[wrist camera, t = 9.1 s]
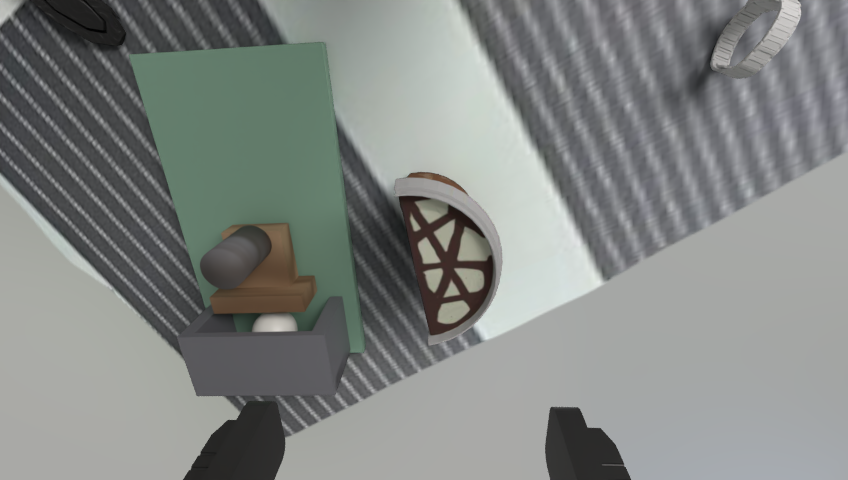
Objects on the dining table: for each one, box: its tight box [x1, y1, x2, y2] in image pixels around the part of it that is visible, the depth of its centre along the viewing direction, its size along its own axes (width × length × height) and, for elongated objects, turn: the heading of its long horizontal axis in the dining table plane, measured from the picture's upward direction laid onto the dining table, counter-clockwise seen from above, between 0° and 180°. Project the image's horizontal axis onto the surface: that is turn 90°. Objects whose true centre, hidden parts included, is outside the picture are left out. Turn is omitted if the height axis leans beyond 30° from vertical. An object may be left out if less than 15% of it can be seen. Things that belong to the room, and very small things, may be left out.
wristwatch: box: [710, 0, 801, 79], centre depth 27 cm, size 3×5×5 cm, turn 161°
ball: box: [252, 312, 298, 332], centre depth 37 cm, size 4×4×4 cm
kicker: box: [200, 223, 317, 314], centre depth 33 cm, size 7×8×7 cm
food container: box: [394, 172, 502, 345], centre depth 31 cm, size 12×6×10 cm, turn 11°
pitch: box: [129, 42, 366, 353], centre depth 36 cm, size 28×15×1 cm, turn 3°
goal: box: [177, 296, 351, 396], centre depth 37 cm, size 6×12×6 cm, turn 93°
